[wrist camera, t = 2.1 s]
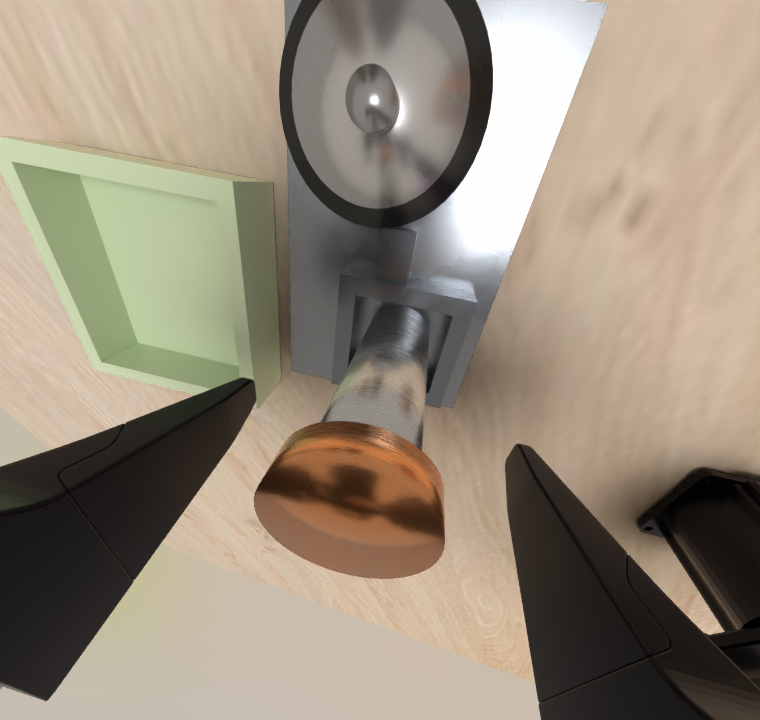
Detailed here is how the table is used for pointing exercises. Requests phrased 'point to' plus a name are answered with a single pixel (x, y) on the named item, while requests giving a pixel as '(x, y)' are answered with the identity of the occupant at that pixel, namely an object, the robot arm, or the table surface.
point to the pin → (364, 465)
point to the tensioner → (416, 162)
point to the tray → (155, 262)
